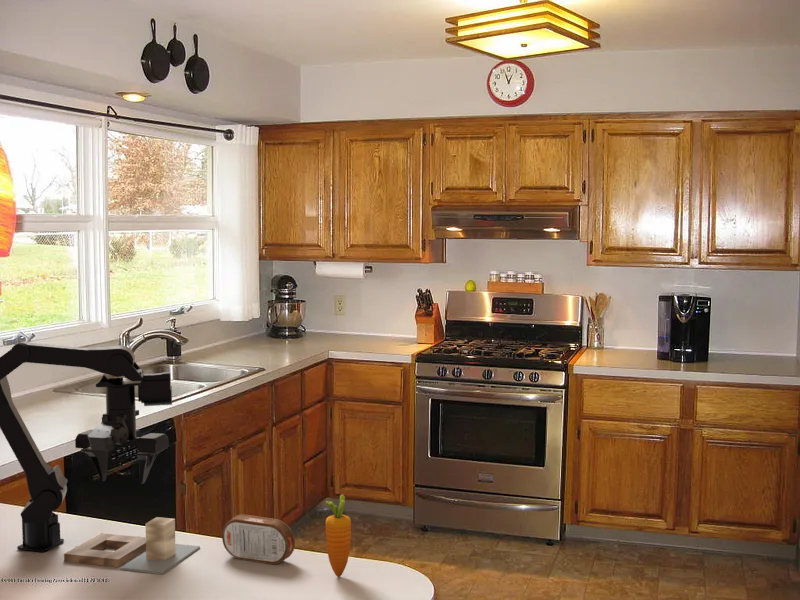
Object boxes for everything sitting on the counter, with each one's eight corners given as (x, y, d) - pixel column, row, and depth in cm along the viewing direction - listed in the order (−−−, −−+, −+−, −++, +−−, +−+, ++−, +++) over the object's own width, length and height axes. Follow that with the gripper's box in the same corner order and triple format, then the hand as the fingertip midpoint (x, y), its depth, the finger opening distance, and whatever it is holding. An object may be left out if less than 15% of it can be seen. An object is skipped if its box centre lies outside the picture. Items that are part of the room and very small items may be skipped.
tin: (296, 562, 162) (295, 519, 162) (288, 568, 159) (287, 524, 159) (228, 552, 168) (227, 511, 167) (219, 558, 165) (219, 515, 164)
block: (146, 559, 163) (145, 523, 163) (157, 551, 167) (156, 517, 167) (164, 561, 162) (163, 525, 162) (175, 553, 166) (174, 518, 165)
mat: (120, 569, 159) (120, 567, 159) (160, 544, 172) (160, 542, 172) (162, 574, 157) (162, 572, 157) (199, 548, 170) (199, 546, 170)
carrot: (331, 584, 152) (330, 502, 151) (320, 574, 156) (320, 494, 155) (356, 579, 154) (356, 498, 153) (345, 570, 158) (345, 491, 157)
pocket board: (64, 561, 163) (63, 553, 163) (101, 540, 175) (101, 533, 175) (118, 567, 160) (118, 559, 160) (153, 545, 172) (152, 538, 172)
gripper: (56, 412, 169) (58, 489, 170) (139, 417, 164) (141, 496, 165) (90, 402, 179) (92, 475, 180) (169, 406, 175) (171, 481, 176)
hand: (122, 481), depth 175 cm, fingers open, 9 cm apart
